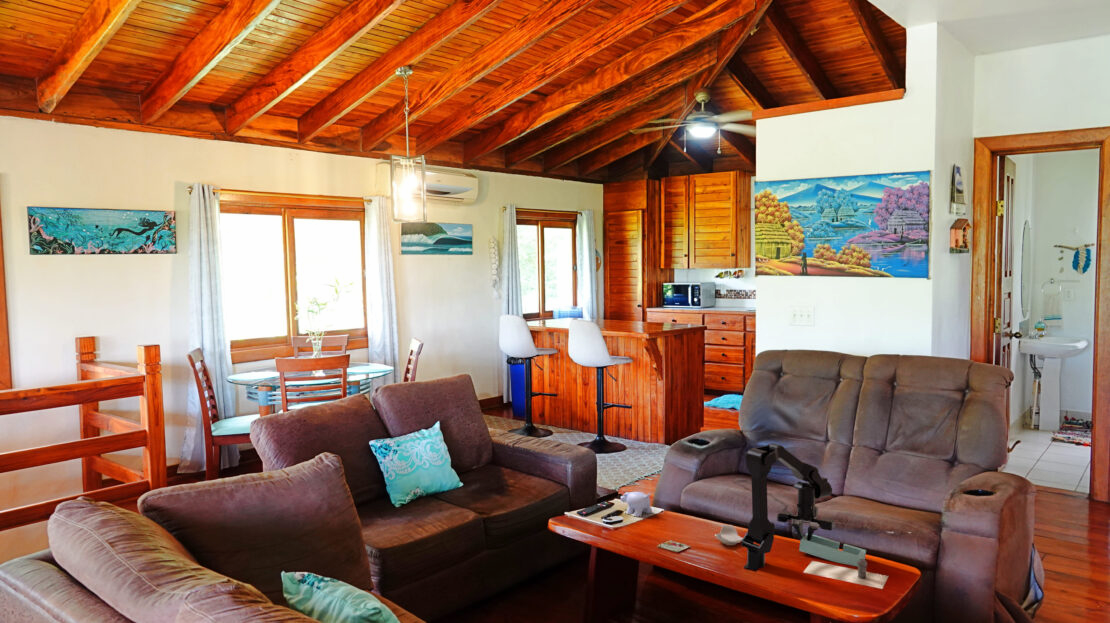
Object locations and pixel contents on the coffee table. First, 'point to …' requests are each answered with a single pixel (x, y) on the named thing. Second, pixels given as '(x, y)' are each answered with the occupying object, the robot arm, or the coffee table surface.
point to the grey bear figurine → (637, 503)
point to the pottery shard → (728, 535)
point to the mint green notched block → (831, 550)
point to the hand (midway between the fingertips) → (805, 544)
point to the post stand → (848, 573)
